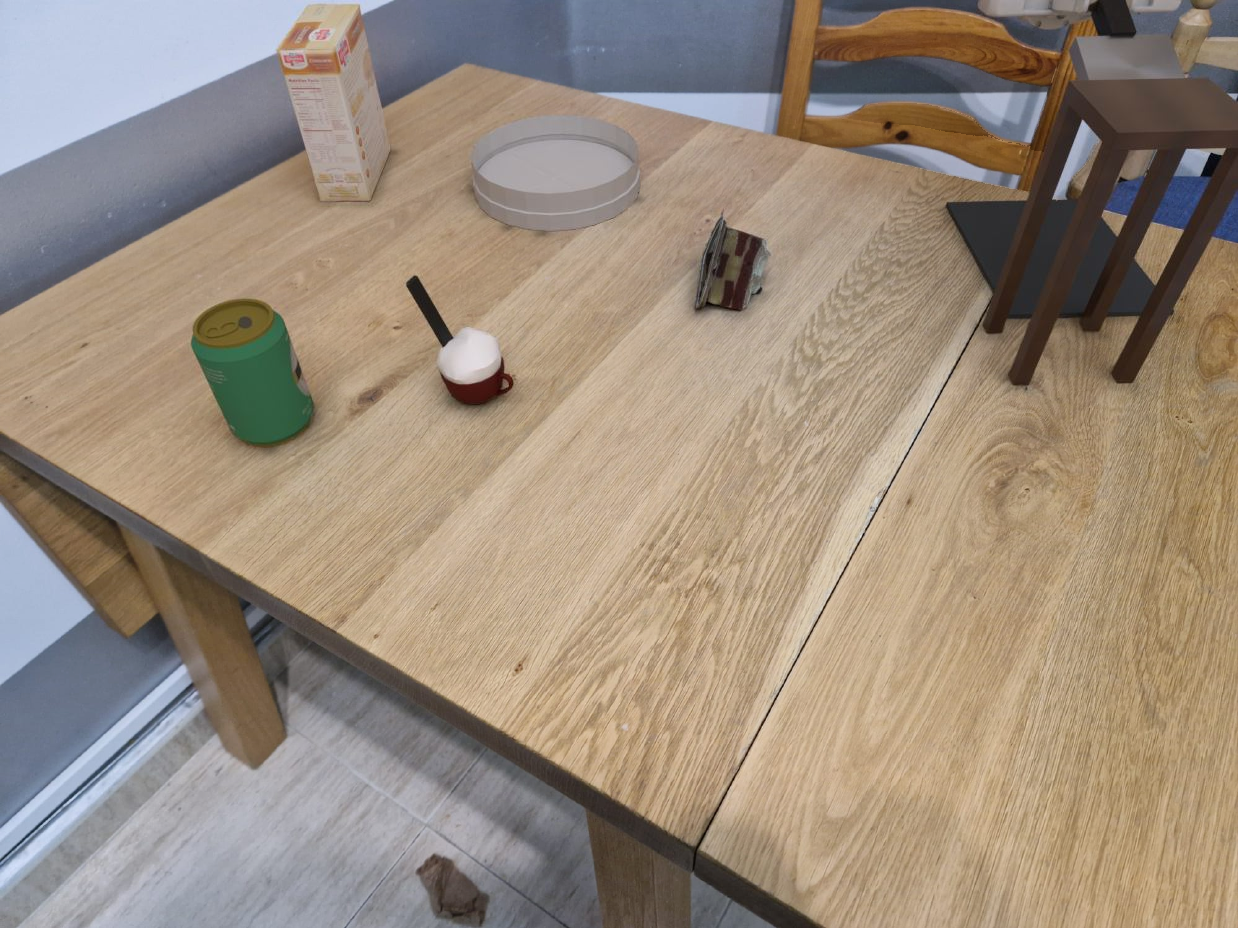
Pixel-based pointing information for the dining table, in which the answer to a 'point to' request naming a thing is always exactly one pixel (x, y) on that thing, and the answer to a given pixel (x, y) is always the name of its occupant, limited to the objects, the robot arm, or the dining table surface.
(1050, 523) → the dining table surface
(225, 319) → the beverage can
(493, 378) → the cocoa
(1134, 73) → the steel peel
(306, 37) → the coffeecake box
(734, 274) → the chocolate cake
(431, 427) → the dining table surface
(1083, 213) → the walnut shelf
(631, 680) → the dining table surface
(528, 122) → the dish
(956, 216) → the rubber mat
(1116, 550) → the dining table surface
